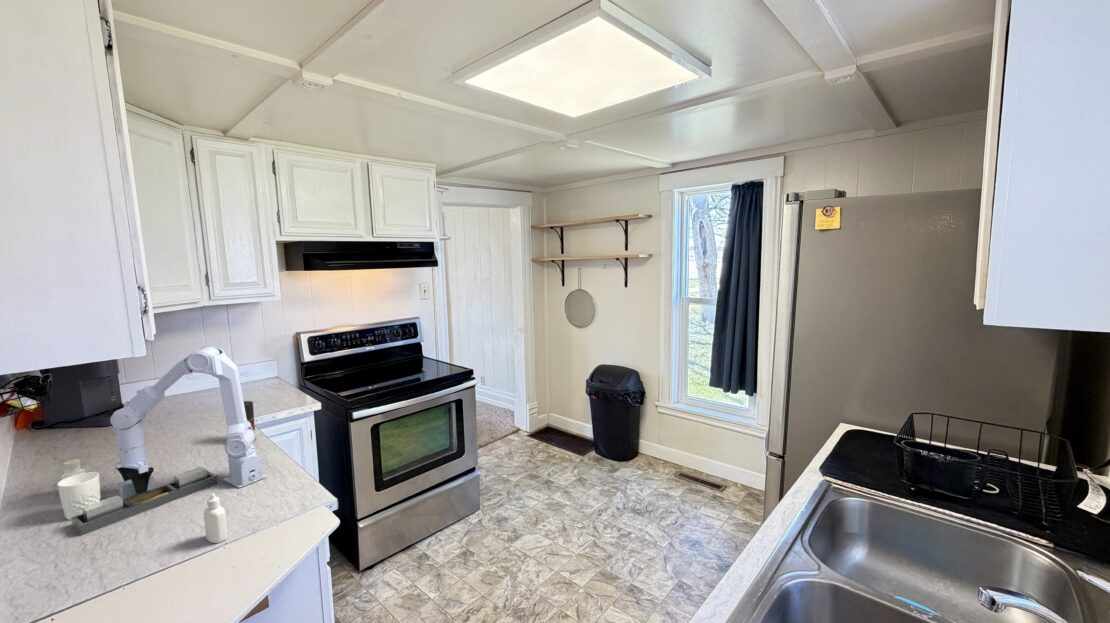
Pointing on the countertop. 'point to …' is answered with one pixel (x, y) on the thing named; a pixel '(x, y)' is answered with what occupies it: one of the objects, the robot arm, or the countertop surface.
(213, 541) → the eye dropper bottle
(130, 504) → the tray
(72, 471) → the salt shaker
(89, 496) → the white cup
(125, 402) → the robot arm
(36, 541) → the countertop surface
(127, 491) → the light blue rectangular block
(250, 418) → the deodorant
